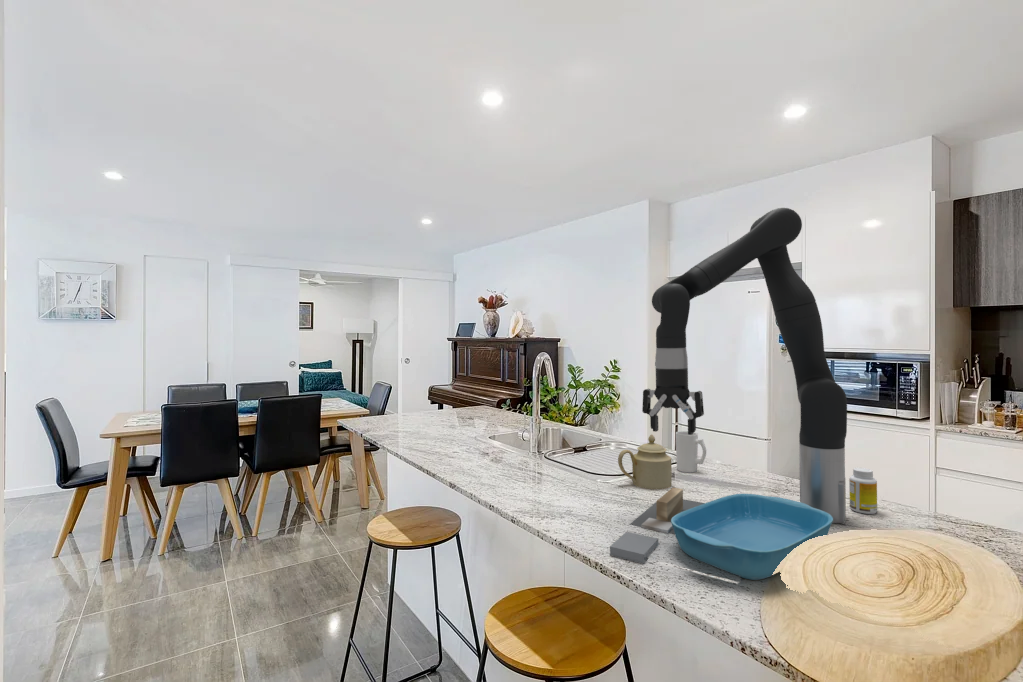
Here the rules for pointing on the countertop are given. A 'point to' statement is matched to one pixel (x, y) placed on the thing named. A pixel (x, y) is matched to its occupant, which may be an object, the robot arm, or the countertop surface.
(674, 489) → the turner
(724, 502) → the casserole dish
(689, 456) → the mug
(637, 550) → the tile
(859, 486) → the supplement bottle
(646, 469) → the beige teapot
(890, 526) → the countertop surface
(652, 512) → the mat
